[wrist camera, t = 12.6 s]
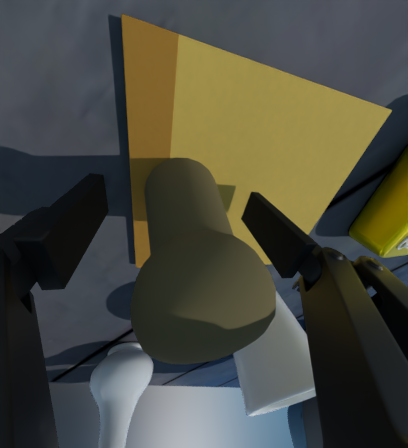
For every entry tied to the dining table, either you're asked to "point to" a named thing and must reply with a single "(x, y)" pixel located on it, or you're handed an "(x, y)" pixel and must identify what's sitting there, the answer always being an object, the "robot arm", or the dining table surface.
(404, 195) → the element tile
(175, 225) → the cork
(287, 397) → the candle holder
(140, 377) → the flower vase
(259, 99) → the towel
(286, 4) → the dining table surface
